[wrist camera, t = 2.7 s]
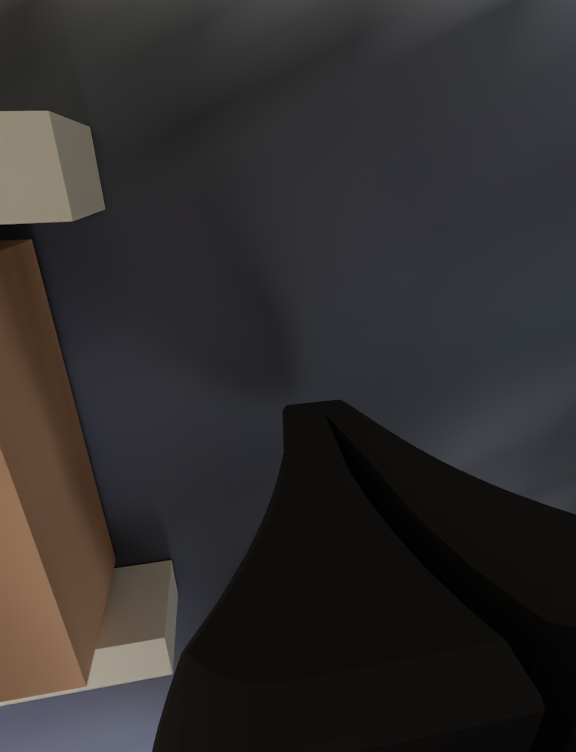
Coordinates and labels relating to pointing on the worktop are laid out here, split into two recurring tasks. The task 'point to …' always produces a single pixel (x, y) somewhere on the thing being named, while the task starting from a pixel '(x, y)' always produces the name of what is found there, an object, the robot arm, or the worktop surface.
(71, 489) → the block
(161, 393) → the worktop surface
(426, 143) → the worktop surface
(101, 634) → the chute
